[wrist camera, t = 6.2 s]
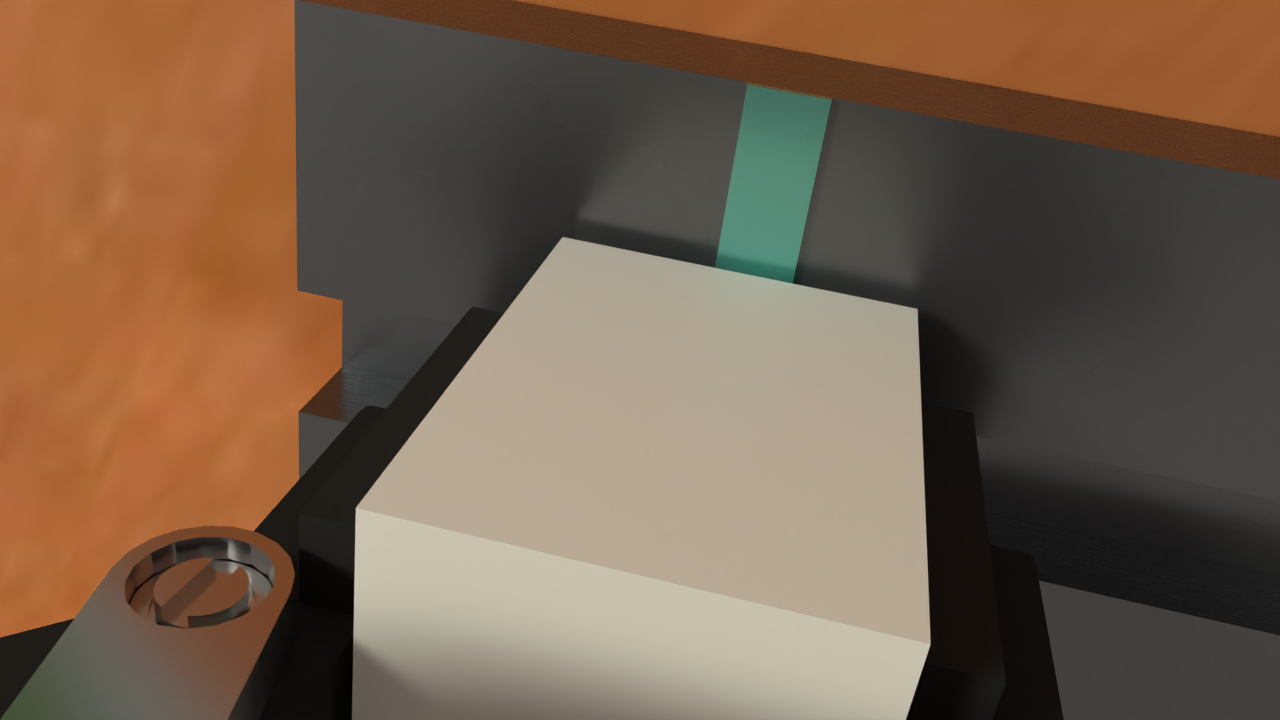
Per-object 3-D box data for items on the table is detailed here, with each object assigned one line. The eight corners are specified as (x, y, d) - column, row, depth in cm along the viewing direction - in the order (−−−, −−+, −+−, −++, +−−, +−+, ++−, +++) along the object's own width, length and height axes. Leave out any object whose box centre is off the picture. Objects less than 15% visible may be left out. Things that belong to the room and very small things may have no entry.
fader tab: (915, 264, 12) (929, 644, 7) (829, 587, 14) (786, 1078, 9) (590, 200, 13) (355, 506, 7) (553, 521, 15) (347, 952, 9)
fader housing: (2657, 383, 10) (2999, 495, 9) (2035, 943, 14) (2190, 1099, 12) (368, -25, 13) (290, 0, 11) (357, 540, 17) (297, 623, 15)
